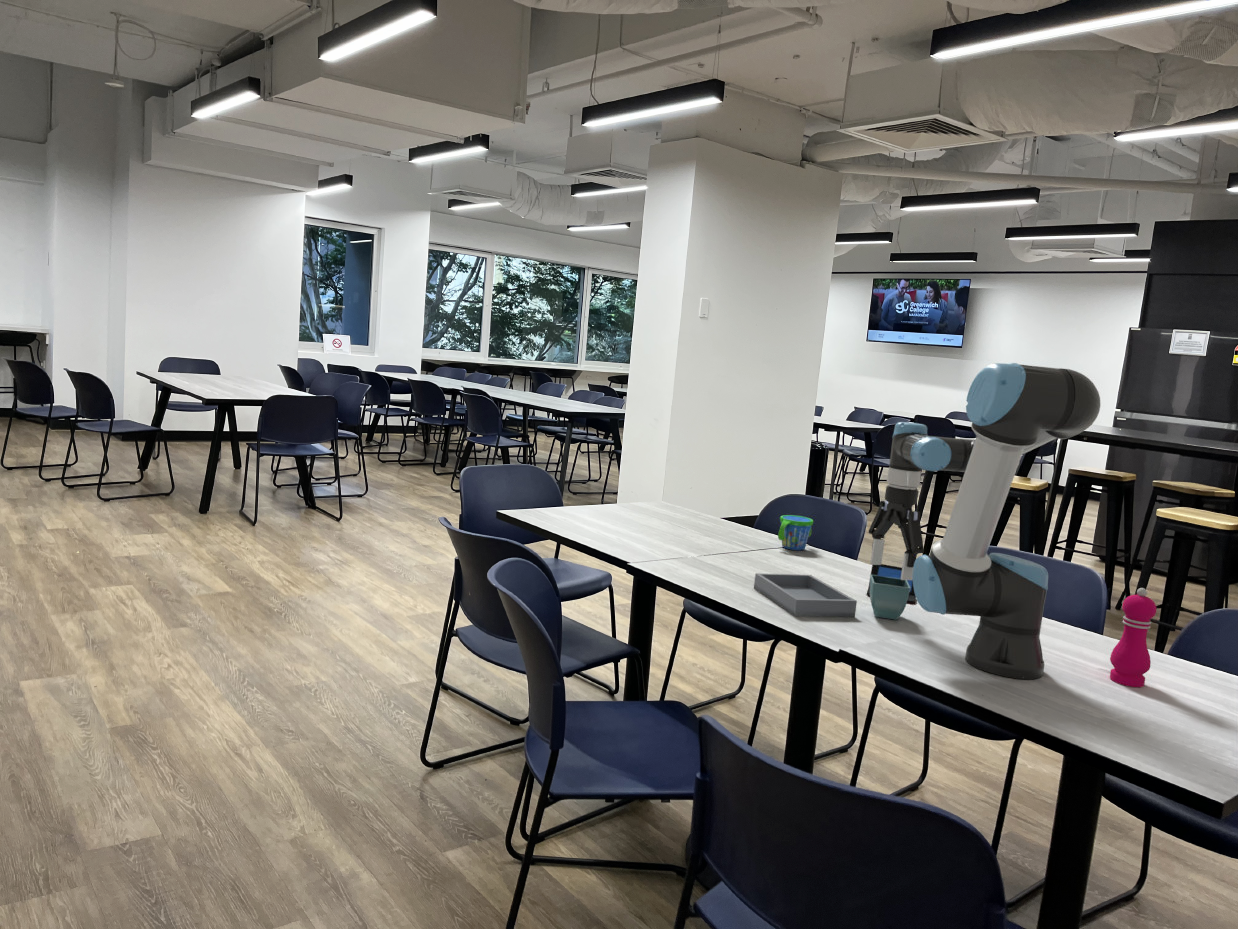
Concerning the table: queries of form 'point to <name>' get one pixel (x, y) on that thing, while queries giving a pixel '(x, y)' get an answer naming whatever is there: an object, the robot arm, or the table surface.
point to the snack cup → (794, 531)
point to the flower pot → (888, 596)
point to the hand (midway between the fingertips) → (890, 572)
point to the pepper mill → (1133, 641)
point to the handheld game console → (893, 573)
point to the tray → (805, 595)
